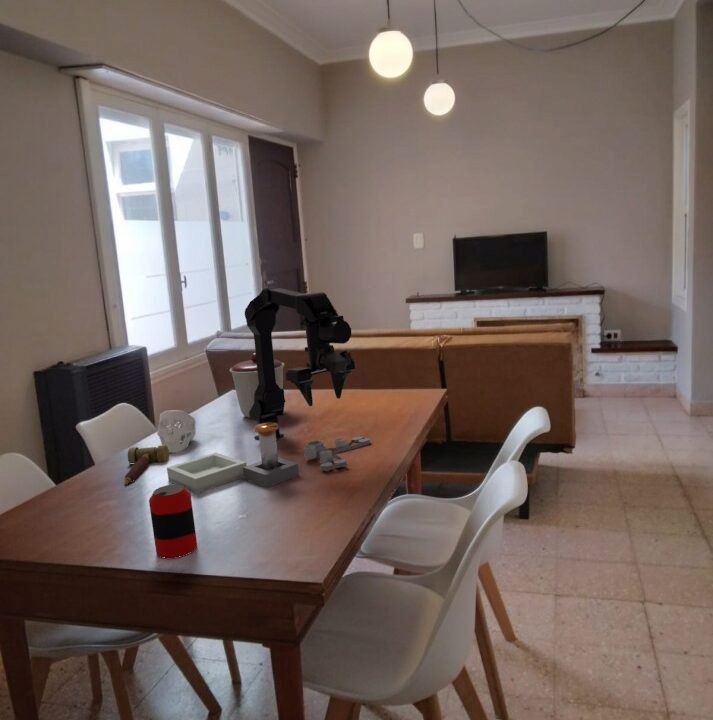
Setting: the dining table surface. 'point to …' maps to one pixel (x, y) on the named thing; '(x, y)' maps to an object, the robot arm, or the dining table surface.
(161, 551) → the soda can
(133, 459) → the gavel
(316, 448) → the pulley system
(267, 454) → the pin
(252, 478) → the pin socket
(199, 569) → the dining table surface
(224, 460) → the tray
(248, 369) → the canister
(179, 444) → the skull bowl
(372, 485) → the dining table surface
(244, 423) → the dining table surface
